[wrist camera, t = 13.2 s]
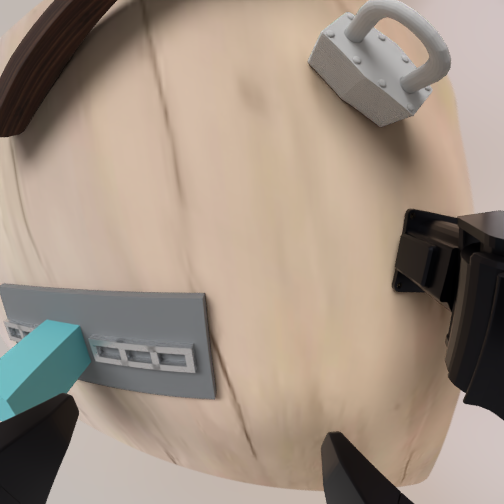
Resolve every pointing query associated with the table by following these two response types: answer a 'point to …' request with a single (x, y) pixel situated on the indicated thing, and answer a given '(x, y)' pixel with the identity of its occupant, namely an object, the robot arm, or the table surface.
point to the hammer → (44, 59)
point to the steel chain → (125, 350)
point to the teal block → (41, 366)
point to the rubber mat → (126, 332)
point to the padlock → (379, 62)
